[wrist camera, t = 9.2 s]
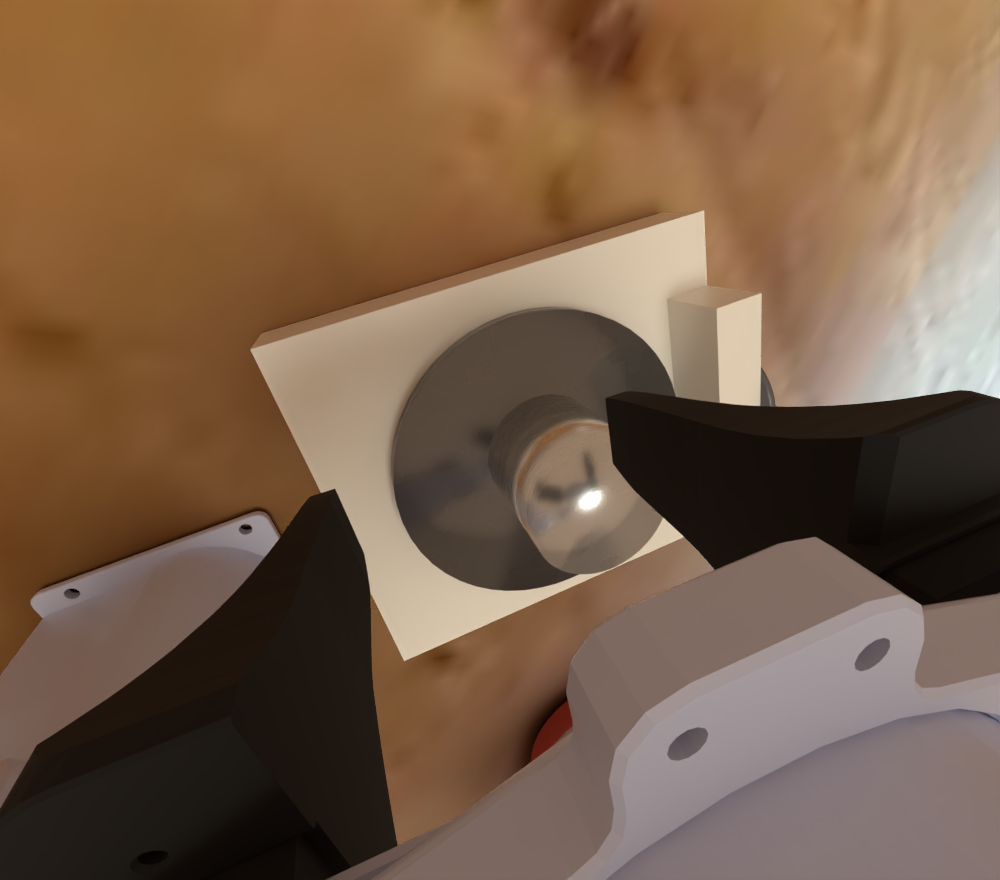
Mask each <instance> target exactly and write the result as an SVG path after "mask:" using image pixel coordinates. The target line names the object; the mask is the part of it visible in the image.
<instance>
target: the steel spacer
mask: <svg viewBox="0 0 1000 880" xmlns="http://www.w3.org/2000/svg"><path fill="white" fill-rule="evenodd" d="M488 465H489V470H490V474H491V477H492V479H493V481H494V483H495V484H496V486H497V487H498V489H499V490H500V492H501V493H502V495H503V496H504V498H505V499H506V501H507V503H508V504H509V506H510V507H511V509H512V510H513V512H514V513H515V515H516V516H517V518H518V519H519V521H520V522H521V524H522V525H523V527H524V528H525V530H526V531H527V533H528V534H529V536H530V537H531V539H532V541H533V542H534V544H535V545H536V547H537V548H538V550H539V551H540V553H541V554H542V556H543V557H544V558H545V559H546V560H547V561H548V562H549V563H550V564H551V565H553V566H554V567H556V568H558V569H559V570H562V571H565V572H568V573H573V574H593V573H598V572H602V571H606V570H609V569H611V568H613V567H616V566H618V565H620V564H621V563H623V562H625V561H626V560H628V559H629V558H631V557H632V556H633V555H635V554H636V553H637V552H638V551H640V550H641V549H642V548H643V547H644V546H645V545H646V543H647V542H648V541H649V540H650V539H651V537H652V536H653V535H654V533H655V532H656V530H657V529H658V527H659V525H660V523H661V521H662V519H663V517H662V516H661V515H660V514H659V513H658V512H657V511H655V510H654V509H653V508H652V507H651V506H650V505H649V504H648V503H647V502H646V501H645V500H644V499H643V498H642V497H640V496H639V495H638V494H637V493H636V492H635V491H634V490H633V489H632V487H631V486H630V485H629V484H628V483H627V481H626V480H625V479H624V478H623V476H622V475H621V474H620V472H619V471H618V470H617V468H616V467H615V466H614V464H613V461H612V452H611V444H610V436H609V428H608V421H607V420H605V419H604V418H602V417H601V416H599V415H598V414H596V413H595V412H593V411H592V410H590V409H589V408H588V407H586V406H585V405H583V404H582V403H580V402H579V401H577V400H575V399H573V398H570V397H568V396H564V395H556V394H549V395H542V396H537V397H534V398H531V399H529V400H527V401H525V402H523V403H521V404H520V405H518V406H517V407H515V408H514V409H513V410H512V411H510V412H509V413H508V414H507V415H506V416H505V418H504V419H503V420H502V421H501V423H500V424H499V425H498V427H497V429H496V431H495V432H494V435H493V437H492V439H491V443H490V446H489V452H488Z"/></svg>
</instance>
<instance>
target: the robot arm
mask: <svg viewBox="0 0 1000 880" xmlns="http://www.w3.org/2000/svg"><path fill="white" fill-rule="evenodd" d="M605 403H606V411H607V419H608V428H609V436H610V444H611V452H612V461H613V464H614V466H615V467H616V468H617V470H618V471H619V472H620V474H621V475H622V476H623V478H624V479H625V480H626V481H627V483H628V484H629V485H630V486H631V487H632V489H633V490H634V491H635V492H636V493H637V494H638V495H639V496H640V497H642V498H643V499H644V500H645V501H646V502H647V503H648V504H649V505H650V506H651V507H652V508H653V509H654V510H655V511H657V512H658V513H659V514H660V515H661V516H662V517H663V518H664V519H665V520H666V521H667V522H668V523H670V524H671V525H672V526H673V527H674V528H675V529H676V530H677V531H678V532H679V533H680V534H681V535H683V536H684V537H685V538H686V539H687V540H688V541H689V542H690V543H691V544H692V545H693V546H694V547H695V548H696V549H697V550H698V551H699V552H700V553H701V554H702V555H703V557H704V558H705V559H706V560H707V561H708V562H709V564H710V565H711V566H712V567H713V568H714V569H715V570H714V571H711V572H709V573H706V574H704V575H702V576H699V577H697V578H694V579H692V580H690V581H687V582H685V583H683V584H680V585H678V586H675V587H673V588H671V589H668V590H666V591H663V592H661V593H659V594H656V595H654V596H651V597H649V598H647V599H644V600H642V601H640V602H637V603H635V604H632V605H630V606H628V607H626V608H624V609H623V610H621V611H620V612H618V613H616V614H615V615H613V616H612V617H610V618H609V619H607V620H606V621H604V622H603V623H601V624H600V625H598V626H596V627H595V628H594V629H593V631H592V632H591V633H590V635H589V636H588V637H587V639H586V640H585V641H584V643H583V644H582V645H581V647H580V648H579V650H578V651H577V652H576V654H575V655H574V656H573V658H572V660H571V662H570V667H569V675H568V682H567V689H566V695H567V699H568V703H569V708H570V712H571V716H572V723H573V732H571V733H570V734H569V735H567V736H566V737H565V738H563V739H562V740H560V741H559V742H558V743H556V744H555V745H554V746H552V747H551V748H550V749H548V750H547V751H545V752H544V753H543V754H541V755H540V756H539V757H537V758H536V759H535V760H533V761H532V762H530V763H529V764H528V765H526V766H525V767H524V768H522V769H521V770H520V771H518V772H517V773H515V774H514V775H513V776H511V777H510V778H509V779H507V780H506V781H505V782H503V783H502V784H500V785H499V786H498V787H496V788H495V789H494V790H492V791H491V792H490V793H488V794H487V795H486V796H484V797H483V798H481V799H480V800H479V801H477V802H476V803H475V804H473V805H472V806H471V807H469V808H468V809H466V810H465V811H464V812H462V813H461V814H460V815H458V816H457V817H456V818H454V819H453V820H451V821H449V822H447V823H445V824H443V825H441V826H439V827H437V828H434V829H432V830H430V831H428V832H426V833H424V834H422V835H420V836H417V837H415V838H413V839H411V840H409V841H407V842H405V843H403V844H400V845H398V846H397V840H396V835H395V829H394V823H393V817H392V811H391V805H390V799H389V793H388V787H387V781H386V775H385V769H384V762H383V755H382V749H381V742H380V735H379V729H378V721H377V714H376V706H375V699H374V691H373V680H372V658H371V608H370V585H369V579H368V572H367V567H366V561H365V555H364V552H363V550H362V547H361V545H360V543H359V541H358V539H357V536H356V534H355V532H354V530H353V527H352V525H351V523H350V521H349V518H348V516H347V514H346V512H345V509H344V507H343V505H342V503H341V501H340V498H339V496H338V494H337V492H336V489H332V490H329V491H326V492H323V493H320V494H317V495H314V496H311V497H309V498H308V500H307V501H306V502H305V503H304V505H303V506H302V507H301V509H300V510H299V512H298V513H297V514H296V516H295V517H294V519H293V520H292V521H291V523H290V524H289V526H288V527H287V528H286V530H285V531H284V533H283V534H282V535H281V536H280V534H279V532H278V531H277V529H276V527H275V525H274V523H273V522H272V520H271V518H270V517H269V515H268V514H267V513H264V512H261V511H256V512H252V513H249V514H246V515H243V516H241V517H238V518H235V519H233V520H230V521H227V522H224V523H222V524H219V525H216V526H213V527H211V528H208V529H205V530H202V531H200V532H197V533H194V534H192V535H189V536H186V537H183V538H181V539H178V540H175V541H172V542H170V543H167V544H164V545H161V546H159V547H156V548H153V549H151V550H148V551H145V552H142V553H140V554H137V555H134V556H131V557H129V558H126V559H123V560H120V561H118V562H115V563H112V564H109V565H107V566H104V567H101V568H99V569H96V570H93V571H90V572H88V573H85V574H82V575H79V576H77V577H74V578H71V579H68V580H66V581H63V582H60V583H58V584H55V585H52V586H49V587H47V588H44V589H41V590H40V591H38V592H37V593H36V594H35V595H34V596H33V598H32V599H31V603H30V604H31V606H32V608H33V609H34V610H35V611H36V612H37V613H38V614H39V615H40V616H41V617H42V618H43V619H42V620H41V621H40V623H39V624H38V625H37V627H36V628H35V629H34V631H33V632H32V633H31V635H30V636H29V637H28V639H27V640H26V641H25V643H24V644H23V645H22V647H21V648H20V649H19V651H18V652H17V653H16V655H15V656H14V657H13V659H12V660H11V661H10V663H9V664H8V665H7V667H6V668H5V669H4V671H3V672H2V673H1V675H0V880H1000V399H999V398H995V397H991V396H987V395H984V394H980V393H976V392H972V391H962V390H959V391H952V392H945V393H939V394H932V395H926V396H919V397H913V398H906V399H900V400H892V401H882V402H873V403H863V404H851V405H837V406H811V407H773V406H749V405H736V404H727V403H717V402H709V401H701V400H694V399H687V398H680V397H674V396H667V395H661V394H654V393H646V392H636V391H625V392H622V393H619V394H616V395H613V396H610V397H607V398H605ZM243 524H248V525H250V526H251V527H252V528H251V529H249V530H245V529H243V528H242V527H241V525H243ZM71 588H72V589H77V590H78V591H79V593H74V592H72V591H70V590H69V589H71Z"/></svg>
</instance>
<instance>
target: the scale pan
mask: <svg viewBox="0 0 1000 880" xmlns="http://www.w3.org/2000/svg"><path fill="white" fill-rule="evenodd" d="M625 391H636V392H646V393H654V394H661V395H667V396H674V397H676V396H675V392H674V389H673V385H672V382H671V380H670V377H669V375H668V373H667V371H666V369H665V367H664V365H663V364H662V362H661V360H660V359H659V357H658V356H657V354H656V353H655V352H654V351H653V350H652V348H651V347H650V346H649V345H648V344H647V343H646V342H645V341H644V340H643V339H642V338H641V337H639V336H638V335H637V334H636V333H634V332H633V331H632V330H631V329H629V328H627V327H625V326H623V325H622V324H620V323H618V322H616V321H615V320H612V319H609V318H606V317H604V316H601V315H598V314H595V313H592V312H588V311H584V310H579V309H574V308H568V307H541V308H531V309H526V310H522V311H518V312H514V313H510V314H506V315H504V316H501V317H499V318H496V319H494V320H491V321H489V322H487V323H485V324H483V325H481V326H480V327H478V328H476V329H474V330H472V331H471V332H469V333H467V334H466V335H465V336H463V337H462V338H461V339H459V340H458V341H457V342H455V343H454V344H453V345H451V346H450V347H449V348H448V349H447V350H446V351H445V352H444V353H443V354H442V355H441V356H440V357H439V358H438V359H437V360H435V361H434V362H433V364H432V365H431V366H430V367H429V369H428V370H427V371H426V373H425V374H424V375H423V376H422V378H421V379H420V380H419V382H418V383H417V385H416V387H415V388H414V390H413V392H412V393H411V395H410V397H409V398H408V401H407V403H406V405H405V407H404V410H403V412H402V414H401V417H400V419H399V423H398V426H397V430H396V433H395V437H394V443H393V450H392V457H391V470H392V483H393V489H394V496H395V500H396V504H397V507H398V510H399V513H400V516H401V520H402V523H403V525H404V527H405V528H406V530H407V532H408V534H409V536H410V538H411V540H412V541H413V542H414V544H415V545H416V546H417V548H418V549H419V551H420V552H421V553H422V554H423V555H424V556H425V557H426V558H427V559H428V560H429V561H430V562H431V563H432V564H433V565H435V566H436V567H438V568H439V569H440V570H442V571H443V572H444V573H446V574H448V575H450V576H452V577H454V578H456V579H457V580H459V581H462V582H465V583H467V584H470V585H473V586H476V587H481V588H486V589H491V590H502V591H519V590H530V589H536V588H542V587H546V586H549V585H553V584H557V583H560V582H562V581H565V580H568V579H570V578H573V577H575V576H577V575H579V574H573V573H568V572H565V571H562V570H559V569H558V568H556V567H554V566H553V565H551V564H550V563H549V562H548V561H547V560H546V559H545V558H544V557H543V556H542V554H541V553H540V551H539V550H538V548H537V547H536V545H535V544H534V542H533V541H532V539H531V537H530V536H529V534H528V533H527V531H526V530H525V528H524V527H523V525H522V524H521V522H520V521H519V519H518V518H517V516H516V515H515V513H514V512H513V510H512V509H511V507H510V506H509V504H508V503H507V501H506V499H505V498H504V496H503V495H502V493H501V492H500V490H499V489H498V487H497V486H496V484H495V483H494V481H493V479H492V477H491V474H490V470H489V465H488V452H489V446H490V443H491V439H492V437H493V435H494V432H495V431H496V429H497V427H498V425H499V424H500V423H501V421H502V420H503V419H504V418H505V416H506V415H507V414H508V413H509V412H510V411H512V410H513V409H514V408H515V407H517V406H518V405H520V404H521V403H523V402H525V401H527V400H529V399H531V398H534V397H537V396H542V395H549V394H556V395H564V396H568V397H570V398H573V399H575V400H577V401H579V402H580V403H582V404H583V405H585V406H586V407H588V408H589V409H590V410H592V411H593V412H595V413H596V414H598V415H599V416H601V417H602V418H604V419H605V420H607V421H608V419H607V411H606V403H605V398H607V397H610V396H613V395H616V394H619V393H622V392H625Z"/></svg>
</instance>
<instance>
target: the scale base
mask: <svg viewBox="0 0 1000 880" xmlns="http://www.w3.org/2000/svg"><path fill="white" fill-rule="evenodd" d="M541 307H568V308H574V309H579V310H584V311H588V312H592V313H595V314H598V315H601V316H604V317H606V318H609V319H612V320H615V321H616V322H618V323H620V324H622V325H623V326H625V327H627V328H629V329H631V330H632V331H633V332H634V333H636V334H637V335H638V336H639V337H641V338H642V339H643V340H644V341H645V342H646V343H647V344H648V345H649V346H650V347H651V348H652V350H653V351H654V352H655V353H656V354H657V356H658V357H659V359H660V360H661V362H662V364H663V365H664V367H665V369H666V371H667V373H668V375H669V377H670V380H671V382H672V385H673V389H674V392H675V396H676V397H680V398H687V399H694V400H701V401H709V402H717V403H727V404H736V405H749V406H773V407H776V406H775V399H774V394H773V390H772V388H771V385H770V382H769V380H768V378H767V376H766V374H765V372H764V371H763V369H762V368H761V293H758V292H751V291H744V290H737V289H729V288H722V287H715V286H708V285H707V273H706V249H705V224H704V210H702V211H686V212H670V213H658V214H655V215H652V216H648V217H645V218H642V219H638V220H635V221H632V222H628V223H625V224H622V225H618V226H615V227H612V228H609V229H605V230H602V231H599V232H595V233H592V234H589V235H585V236H582V237H579V238H575V239H572V240H569V241H565V242H562V243H559V244H556V245H552V246H549V247H546V248H542V249H539V250H536V251H532V252H529V253H526V254H522V255H519V256H516V257H512V258H509V259H506V260H503V261H499V262H496V263H493V264H489V265H486V266H483V267H479V268H476V269H473V270H469V271H466V272H463V273H459V274H456V275H453V276H450V277H446V278H443V279H440V280H436V281H433V282H430V283H426V284H423V285H420V286H416V287H413V288H410V289H406V290H403V291H400V292H396V293H393V294H390V295H387V296H383V297H380V298H377V299H373V300H370V301H367V302H363V303H360V304H357V305H353V306H350V307H347V308H343V309H340V310H337V311H334V312H330V313H327V314H324V315H320V316H317V317H314V318H310V319H307V320H304V321H300V322H297V323H294V324H290V325H287V326H284V327H281V328H277V329H274V330H271V331H267V332H264V333H261V334H260V336H259V337H258V339H257V340H256V342H255V343H254V345H253V346H252V348H251V349H250V350H251V352H252V354H253V356H254V358H255V360H256V362H257V364H258V366H259V368H260V370H261V372H262V374H263V376H264V378H265V380H266V382H267V384H268V387H269V389H270V391H271V393H272V395H273V397H274V399H275V401H276V403H277V405H278V407H279V409H280V411H281V413H282V415H283V417H284V419H285V421H286V423H287V425H288V427H289V429H290V431H291V433H292V435H293V437H294V439H295V441H296V443H297V445H298V447H299V449H300V451H301V453H302V455H303V457H304V459H305V461H306V463H307V465H308V467H309V469H310V471H311V473H312V475H313V477H314V479H315V481H316V484H317V486H318V488H319V490H320V492H321V493H323V492H326V491H329V490H332V489H336V492H337V494H338V496H339V498H340V501H341V503H342V505H343V507H344V509H345V512H346V514H347V516H348V518H349V521H350V523H351V525H352V527H353V530H354V532H355V534H356V536H357V539H358V541H359V543H360V545H361V547H362V550H363V552H364V555H365V561H366V567H367V572H368V579H369V585H370V593H371V595H372V597H373V599H374V601H375V603H376V605H377V607H378V609H379V611H380V613H381V615H382V617H383V619H384V621H385V623H386V625H387V627H388V629H389V631H390V633H391V635H392V637H393V639H394V641H395V643H396V645H397V647H398V649H399V651H400V653H401V655H402V657H403V659H404V661H406V660H408V659H410V658H412V657H415V656H417V655H419V654H421V653H424V652H426V651H428V650H430V649H433V648H435V647H437V646H439V645H442V644H444V643H446V642H448V641H451V640H453V639H455V638H457V637H460V636H462V635H464V634H466V633H469V632H471V631H473V630H475V629H478V628H480V627H482V626H484V625H487V624H489V623H491V622H493V621H496V620H498V619H500V618H502V617H505V616H507V615H509V614H511V613H514V612H516V611H518V610H520V609H523V608H525V607H527V606H529V605H532V604H534V603H536V602H538V601H541V600H543V599H545V598H547V597H550V596H552V595H554V594H556V593H559V592H561V591H563V590H565V589H568V588H570V587H572V586H574V585H577V584H579V583H581V582H583V581H586V580H588V579H590V578H593V577H595V576H597V575H599V574H602V573H604V572H606V571H608V570H606V571H602V572H598V573H593V574H579V575H577V576H575V577H573V578H570V579H568V580H565V581H562V582H560V583H557V584H553V585H549V586H546V587H542V588H536V589H530V590H519V591H502V590H491V589H486V588H481V587H476V586H473V585H470V584H467V583H465V582H462V581H459V580H457V579H456V578H454V577H452V576H450V575H448V574H446V573H444V572H443V571H442V570H440V569H439V568H438V567H436V566H435V565H433V564H432V563H431V562H430V561H429V560H428V559H427V558H426V557H425V556H424V555H423V554H422V553H421V552H420V551H419V549H418V548H417V546H416V545H415V544H414V542H413V541H412V540H411V538H410V536H409V534H408V532H407V530H406V528H405V527H404V525H403V523H402V520H401V516H400V513H399V510H398V507H397V504H396V500H395V496H394V489H393V483H392V470H391V457H392V450H393V443H394V437H395V433H396V430H397V426H398V423H399V419H400V417H401V414H402V412H403V410H404V407H405V405H406V403H407V401H408V398H409V397H410V395H411V393H412V392H413V390H414V388H415V387H416V385H417V383H418V382H419V380H420V379H421V378H422V376H423V375H424V374H425V373H426V371H427V370H428V369H429V367H430V366H431V365H432V364H433V362H434V361H435V360H437V359H438V358H439V357H440V356H441V355H442V354H443V353H444V352H445V351H446V350H447V349H448V348H449V347H450V346H451V345H453V344H454V343H455V342H457V341H458V340H459V339H461V338H462V337H463V336H465V335H466V334H467V333H469V332H471V331H472V330H474V329H476V328H478V327H480V326H481V325H483V324H485V323H487V322H489V321H491V320H494V319H496V318H499V317H501V316H504V315H506V314H510V313H514V312H518V311H522V310H526V309H531V308H541ZM683 537H684V536H683V535H681V534H680V533H679V532H678V531H677V530H676V529H675V528H674V527H673V526H672V525H671V524H670V523H668V522H667V521H666V520H665V519H664V518H663V519H662V521H661V523H660V525H659V527H658V529H657V530H656V532H655V533H654V535H653V536H652V537H651V539H650V540H649V541H648V542H647V543H646V545H645V546H644V547H643V548H642V549H641V550H640V551H638V552H637V553H636V554H635V555H633V556H632V557H631V558H629V559H628V560H626V561H625V562H623V563H621V564H620V565H622V564H624V563H626V562H629V561H631V560H633V559H635V558H638V557H640V556H642V555H644V554H647V553H649V552H651V551H653V550H656V549H658V548H660V547H662V546H665V545H667V544H669V543H671V542H674V541H676V540H678V539H680V538H683ZM620 565H618V566H620ZM616 567H617V566H616ZM613 568H615V567H613ZM613 568H611V569H613ZM611 569H609V570H611Z"/></svg>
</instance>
